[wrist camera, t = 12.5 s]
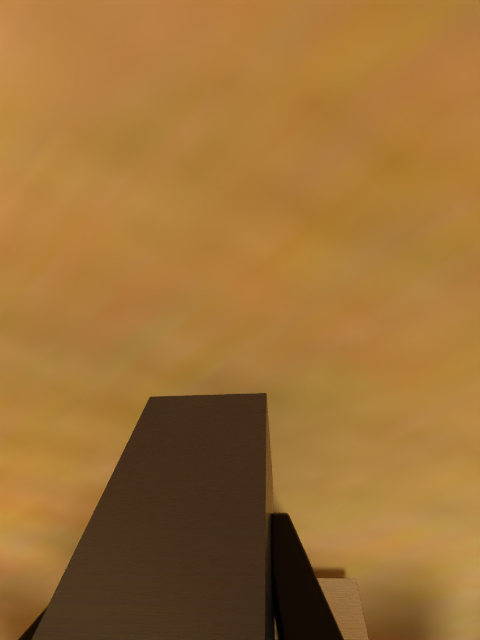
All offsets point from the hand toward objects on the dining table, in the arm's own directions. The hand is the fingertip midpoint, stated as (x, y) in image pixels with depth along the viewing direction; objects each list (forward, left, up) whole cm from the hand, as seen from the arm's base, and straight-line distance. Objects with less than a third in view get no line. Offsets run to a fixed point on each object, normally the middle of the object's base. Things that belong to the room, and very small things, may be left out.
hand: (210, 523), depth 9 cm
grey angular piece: (0, +2, -2) cm, 3 cm away
